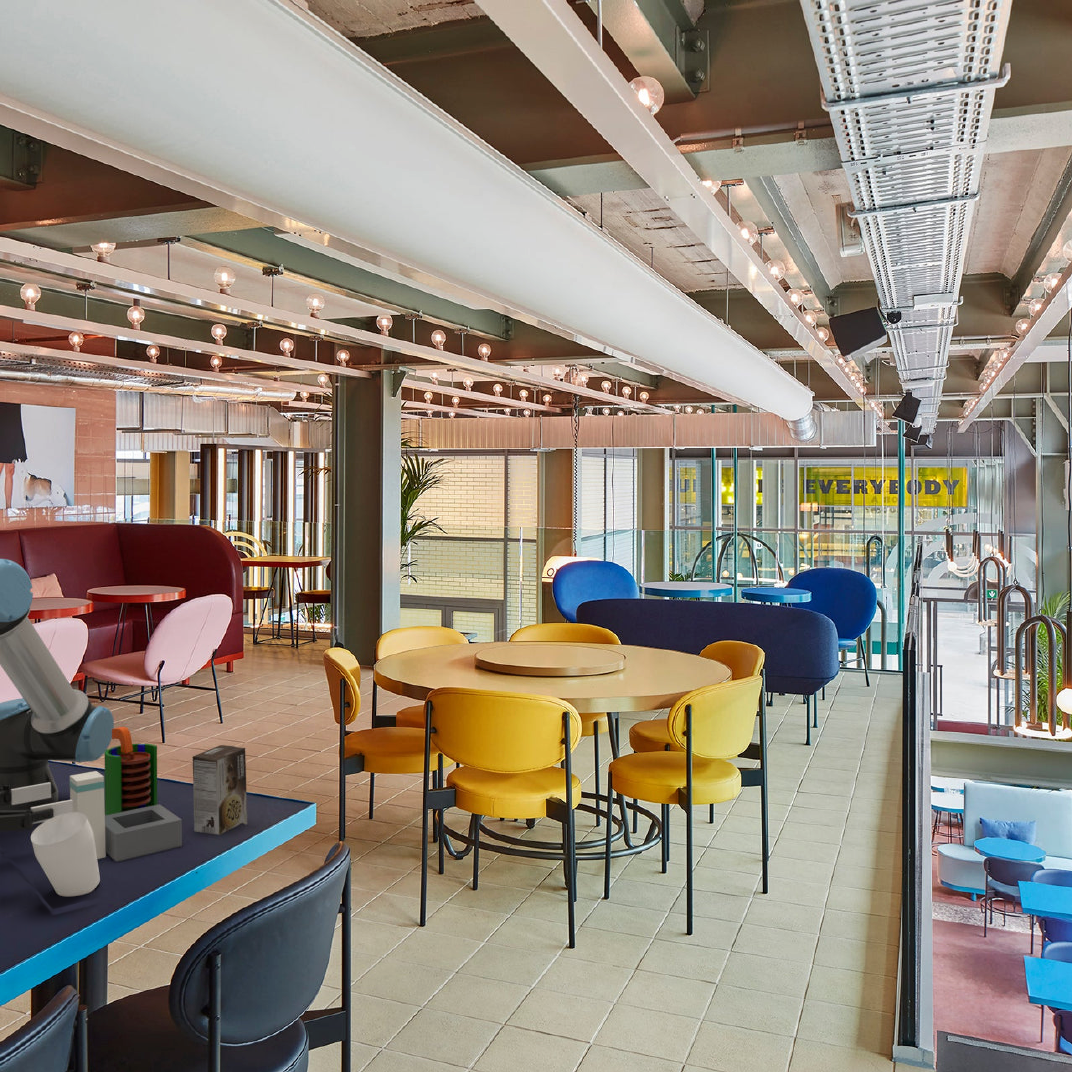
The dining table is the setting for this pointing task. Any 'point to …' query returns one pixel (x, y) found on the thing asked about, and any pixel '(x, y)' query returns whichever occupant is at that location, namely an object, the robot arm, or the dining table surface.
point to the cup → (67, 853)
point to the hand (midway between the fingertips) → (61, 798)
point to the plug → (90, 804)
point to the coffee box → (219, 789)
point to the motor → (129, 774)
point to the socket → (141, 832)
